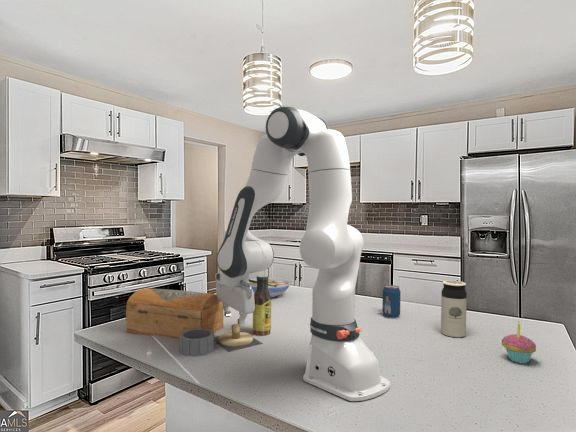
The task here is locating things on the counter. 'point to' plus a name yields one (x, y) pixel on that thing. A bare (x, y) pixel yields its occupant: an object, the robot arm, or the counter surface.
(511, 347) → the cupcake
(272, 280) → the ramen bowl
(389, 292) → the soda can
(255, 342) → the mat
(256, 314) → the sauce bottle
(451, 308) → the travel mug
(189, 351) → the bowl
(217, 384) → the counter surface
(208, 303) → the wooden box
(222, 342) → the lid
